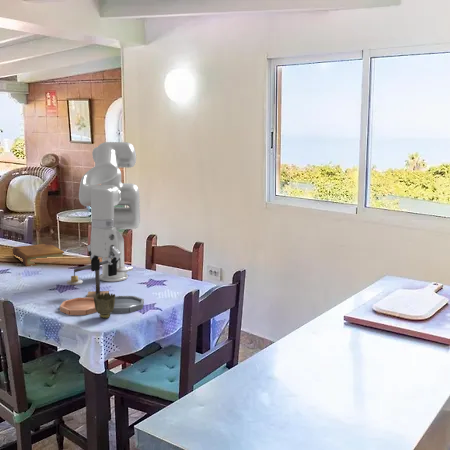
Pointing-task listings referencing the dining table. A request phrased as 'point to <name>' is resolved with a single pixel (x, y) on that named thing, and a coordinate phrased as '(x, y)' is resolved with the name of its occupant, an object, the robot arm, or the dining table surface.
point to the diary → (36, 252)
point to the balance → (92, 294)
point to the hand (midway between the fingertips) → (103, 272)
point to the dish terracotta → (78, 306)
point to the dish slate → (127, 304)
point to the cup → (104, 304)
